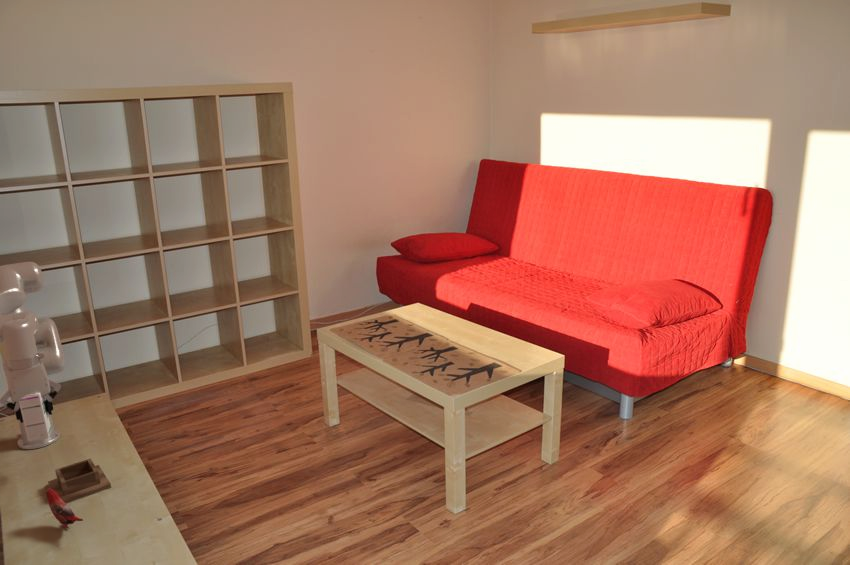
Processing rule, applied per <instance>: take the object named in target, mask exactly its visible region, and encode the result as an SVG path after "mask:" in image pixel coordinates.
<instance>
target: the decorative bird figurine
mask: <svg viewBox="0 0 850 565" xmlns="http://www.w3.org/2000/svg"><path fill="white" fill-rule="evenodd" d="M45 495H46V496H45V497H46V500H47V503H48V506H49V509H50V511H51V512H52V514H53V516H54V518H56V520H57V521H58V522H59V523H60V524H61V526H62V527H63V528H66V529H69V530H71V529H70V527H69V526H68V525H73V524H75V522H83V521H84V519H83V518H81V517H78V516H77V515H76V514H75V513H74V512H73V510H72V509H71V507H69V505H68V504H67V503H66V504H65V503H64V502H63V501H62V500H61V498H60V497H59V496H58V494H57V493H56V492H55V491H54V490H53V489H50V488H48V489H47V490H46V492H45Z"/></svg>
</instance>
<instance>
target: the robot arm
mask: <svg viewBox="0 0 850 565" xmlns="http://www.w3.org/2000/svg"><path fill="white" fill-rule="evenodd" d="M43 274H44V273H43V272H42V269H41V267H40V266H39V264H38V263H36V262H34V261H23V262H15V263H10V264H3V265H0V342H1V343H3V346H4V347H5V351H6V355H7V356H5V357H4V360H3V361H2V369H3V371H4V374H5V376H6V379H7V387H8V390H7V391H6V392H5V393H4V394H3V395H2V396H1V397H0V404H1V405H3V406H5V407H7V408H8V409H11V410H13V411H14V413H15V417H16V420H17V421H18V427H19V431H20V435H21V436H20V437H19V439H18V440H17V442H16V443H17V446H18V448H19V449H23V450H34V449H39V448H43V447H46V446H49V445H52V444H53V443H55V442H56V441H58V440H59V439H60V437H61V432H60V430H59V429H57V428H55V427H54V423H53V419H52V415H53V411H54V406H53V402H54V399H55V398H56V396H57V394H58V393H59V391H60V390H61V388H62V385H61V384H60V383H58V382H57V381H53V380H51V379H49V377H48V376H50V375H55V374H56V375H57V374H59V373H61V372H63V371H64V370H65V368H66V367H67V366H66V363H67V362H66V357H65V353H64V349H63V345H62V341H61V338H60V334H59V330H58V327H57V325H56V322H55V321H54V320H53V319H51V318H50V317H39V318H38V316H37V315H36V314H35V313H33V311H28V310H27V308H25V306H24V304H25V301H26V298H27V295H28V294H33V293H37V292H40V291H41V290H42V288H43V285H44V284H43V283H44V275H43ZM26 294H27V295H26ZM51 387H52V388H53V389H52V388H51ZM51 389H52V390H51ZM34 393H40V394H41V396H44V397H45V402H46V407H47V411H48V415H49V419H50V424H51V428H52V429H51V433H50V436H49V438H45V439H40V440H35V441H28V439H27V435H26V430H25V426H24V422H23V418H22V413H21V409H20V405H19V401H20V399H21V398H23V397H24V396H27V395H30V394H34ZM9 398H11V399H12V402H11V401H9V400H8V399H9Z"/></svg>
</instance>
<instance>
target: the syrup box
mask: <svg viewBox="0 0 850 565" xmlns="http://www.w3.org/2000/svg"><path fill="white" fill-rule="evenodd" d="M19 405H20V409H21V413H22V418H23V422H24V426H25V430H26V435H27V439H28V441H35V440H40V439H45V438H49V436H50V433H51V429H52V428H51V424H50V419H49V415H48V411H47V407H46V402H45V397H44V396H41V394H40V393H34V394H30V395H27V396H24V397H23V398H21V399H20V401H19Z"/></svg>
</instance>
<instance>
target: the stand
mask: <svg viewBox="0 0 850 565" xmlns="http://www.w3.org/2000/svg"><path fill="white" fill-rule="evenodd" d="M54 472H55V476H56V478H55V479H51V480H48V481H47V483H48V487H49V489H53V490H54V491H55V492H56V493H57V494H58V496H59V497H60V498H61V500H62V501H63V502H64V503H66V504H68V502H69V503H71V502H74V501H76V500H77V501H78V500H80V499H83V498H85V497H89V496H91V495H94V494H97V493H100V492H103V491H105V490H108V489H111V488H112V483H111V482H110V481H109V479H108V478H107V475H105V473H104V471H103V470H102V468H101V466H100V464H97V465H95V463H94V461H93V460H92V458H87V459H85V460H81V461H78V462H76V463H72V464H69V465H66V466H63V467H60V468H57V469H55V470H54Z"/></svg>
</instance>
